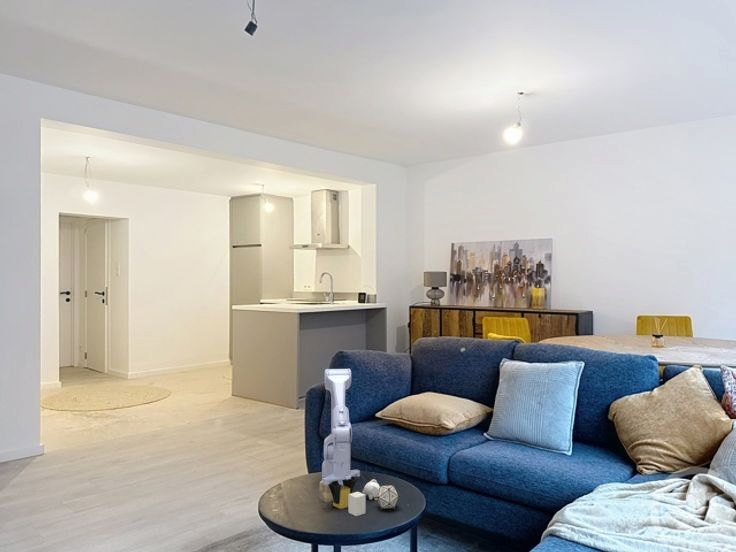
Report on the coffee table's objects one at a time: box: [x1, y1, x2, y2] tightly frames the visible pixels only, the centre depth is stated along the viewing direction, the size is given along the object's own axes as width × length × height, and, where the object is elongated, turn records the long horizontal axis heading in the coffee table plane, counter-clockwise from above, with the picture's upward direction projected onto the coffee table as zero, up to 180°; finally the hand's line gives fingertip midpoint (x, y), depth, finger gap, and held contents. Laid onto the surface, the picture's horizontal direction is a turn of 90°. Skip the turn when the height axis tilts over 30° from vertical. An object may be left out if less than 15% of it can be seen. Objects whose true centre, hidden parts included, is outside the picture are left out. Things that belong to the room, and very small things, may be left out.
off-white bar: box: [347, 491, 366, 517], centre depth 186 cm, size 4×4×6 cm
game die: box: [373, 482, 402, 511], centre depth 190 cm, size 9×8×10 cm
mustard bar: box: [332, 485, 350, 510], centre depth 192 cm, size 4×4×6 cm
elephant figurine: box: [361, 478, 380, 501], centre depth 199 cm, size 7×8×6 cm
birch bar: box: [319, 480, 334, 503], centre depth 198 cm, size 4×4×6 cm
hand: (341, 501), depth 192 cm, fingers closed on mustard bar, 4 cm apart
